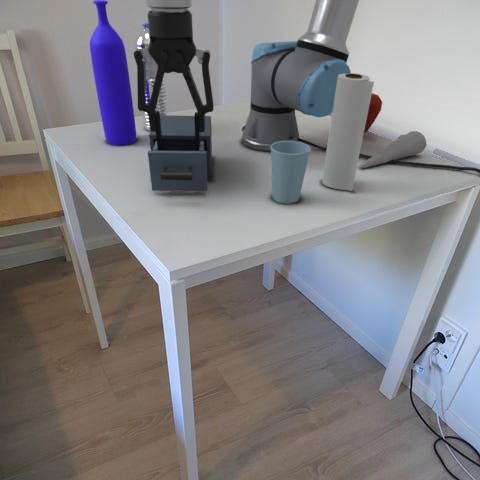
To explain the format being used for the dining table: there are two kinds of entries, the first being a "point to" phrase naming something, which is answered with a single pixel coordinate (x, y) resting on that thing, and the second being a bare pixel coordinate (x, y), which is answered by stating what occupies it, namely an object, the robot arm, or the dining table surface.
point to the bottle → (112, 81)
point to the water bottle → (150, 76)
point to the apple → (373, 111)
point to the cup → (288, 170)
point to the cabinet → (185, 133)
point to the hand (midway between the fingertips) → (179, 147)
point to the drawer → (178, 166)
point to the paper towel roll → (346, 130)
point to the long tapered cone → (398, 149)
